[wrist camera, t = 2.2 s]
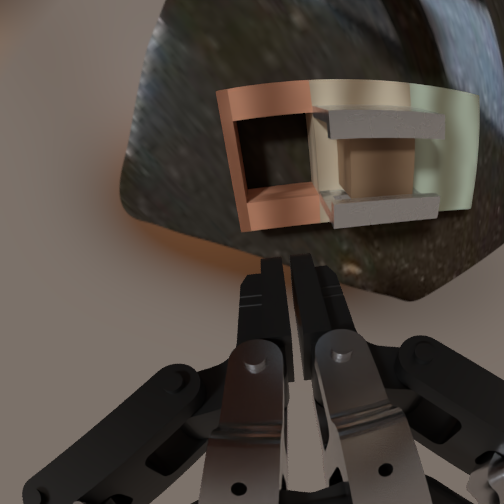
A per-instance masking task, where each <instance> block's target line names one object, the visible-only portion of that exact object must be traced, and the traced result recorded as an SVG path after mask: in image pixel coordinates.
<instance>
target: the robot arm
mask: <svg viewBox="0 0 504 504" xmlns="http://www.w3.org/2000/svg"><path fill="white" fill-rule="evenodd" d="M290 269H291V280H292V293H293V302H294V309H295V316H296V323H297V330H298V337H299V345H300V352H301V360H302V367H303V375H304V380H312V388H313V404H314V410H315V415H316V419H317V425H318V431H319V436H320V441H321V447H322V454H323V468H324V476H325V481H326V488H325V489H322V490H319V491H316V492H311V493H308V492H298V491H290V490H288V402H289V385H288V382H294V366H293V353H292V352H293V351H292V338H291V328H290V321H289V312H288V305H287V296H286V288H285V281H284V273H283V266H282V258H281V257H274V258H265V259H261V274H251V275H247V276H246V278H245V279H244V281H243V283H242V284H241V287H240V302H239V319H238V334H237V345H236V348H235V349H234V350H233V351H232V352H231V354H230V356H229V358H228V359H227V360H226V361H224V362H223V363H221V364H219V365H217V366H214V367H212V368H209V369H205V370H202V371H199V372H196V371H195V369H193V368H192V367H190V366H188V365H185V364H172V365H168V366H166V367H164V368H162V369H161V370H160V371H158V372H157V373H156V374H155V375H154V376H152V377H151V378H150V379H149V380H148V381H147V382H146V383H144V384H143V385H142V386H141V387H140V388H139V389H138V390H137V391H135V392H134V393H133V394H132V395H131V396H130V397H128V398H127V399H126V400H125V401H124V402H123V403H122V404H120V405H119V406H118V407H117V408H116V409H114V410H113V411H112V412H111V413H110V414H109V415H107V416H106V417H105V418H104V419H103V420H102V421H100V422H99V423H98V424H97V425H96V426H94V427H93V428H92V429H91V430H90V431H88V432H87V433H86V434H85V435H84V436H83V437H81V438H80V439H79V440H78V441H76V442H75V443H74V444H73V445H72V446H71V447H69V448H68V449H67V450H65V451H64V452H63V453H62V454H61V455H59V456H58V457H57V458H56V459H55V460H53V461H52V462H51V463H49V464H48V465H47V466H46V467H44V468H43V469H42V470H41V471H39V472H38V473H37V474H35V475H34V476H33V477H32V478H31V479H29V480H28V481H27V482H26V483H25V485H24V488H23V492H22V497H23V503H24V504H149V503H151V502H152V501H153V500H154V499H155V498H157V497H158V496H159V495H160V494H161V493H162V492H163V491H165V490H166V489H167V488H168V487H169V486H170V485H171V484H172V483H174V482H175V481H176V480H177V479H178V478H179V477H180V476H181V475H182V474H183V473H184V472H185V471H187V469H189V468H190V467H191V466H192V465H193V464H194V463H195V462H196V461H197V460H198V459H199V458H200V457H201V456H202V455H203V454H204V453H205V452H206V457H205V462H204V469H203V475H202V482H201V488H200V495H199V500H197V501H195V502H193V503H191V504H473V503H472V502H470V501H468V500H467V499H465V498H463V497H462V496H460V495H459V494H457V493H455V492H454V491H452V490H451V489H449V488H448V487H446V486H445V485H443V484H442V483H440V482H439V481H437V480H435V479H434V478H432V477H429V476H427V475H425V474H424V471H423V467H422V464H421V461H420V457H419V454H418V451H417V448H416V445H415V442H414V440H416V441H418V442H419V443H421V444H422V445H423V446H425V447H426V448H428V449H429V450H431V451H432V452H434V453H436V454H437V455H438V456H440V457H442V458H443V459H445V460H446V461H448V462H449V463H451V464H453V465H454V466H456V467H457V468H459V469H461V470H462V471H464V472H465V473H467V474H469V475H470V478H469V481H468V483H467V487H466V488H467V491H468V492H470V493H471V495H472V496H473V497H474V498H475V499H476V500H477V501H478V503H479V504H504V380H502V379H501V378H499V377H497V376H496V375H494V374H492V373H491V372H489V371H487V370H486V369H484V368H482V367H481V366H479V365H477V364H476V363H474V362H472V361H471V360H469V359H467V358H466V357H464V356H462V355H460V354H459V353H457V352H455V351H454V350H452V349H450V348H449V347H447V346H445V345H443V344H442V343H440V342H438V341H437V340H435V339H433V338H431V337H428V336H413V337H411V338H408V339H407V340H406V341H404V342H403V344H402V345H401V347H400V348H399V347H385V346H377V345H374V344H371V343H369V342H367V341H365V339H364V338H363V337H362V336H361V335H360V334H358V333H357V331H356V329H355V327H354V324H353V321H352V318H351V315H350V312H349V309H348V306H347V303H346V301H345V298H344V295H343V292H342V289H341V287H340V283H339V281H338V278H337V275H336V273H334V272H333V271H332V270H331V269H330V268H329V267H328V266H319V267H314V264H313V260H312V257H311V254H310V253H307V254H298V255H290Z"/></svg>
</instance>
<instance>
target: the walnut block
mask: <svg viewBox="0 0 504 504" xmlns="http://www.w3.org/2000/svg"><path fill="white" fill-rule="evenodd" d="M337 152H338V174H339V184H340V186H341V187H342V188H343V189H344V191H345V192H346V193H347V194H348V196H349V197H350V198H351V199H353V198H365V197H377V196H391V195H406V194H412V192H413V179H414V160H415V138H352V139H337Z"/></svg>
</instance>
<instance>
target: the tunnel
mask: <svg viewBox="0 0 504 504" xmlns="http://www.w3.org/2000/svg"><path fill="white" fill-rule="evenodd" d="M312 111H313V117H315V118H317V119H319V120H321V121H324V122H326V123H327V131H328V138H329V139H352V138H422V139H441V140H445V115H444V114H440V113H436V112H432V111H428V110H424V109H420V108H415V107H409V106H393V105H319V106H312ZM319 201H320V203H321V205H322V207H323V208H324V210H325V212H326V214H327V216H328V218H329V220H330V222H331V224H332V226H333V228H334V229H338V228H347V227H356V226H365V225H374V224H384V223H394V222H403V221H413V220H423V219H434V218H437V216H438V210H439V203H440V196H439V195H438V194H437V193H422V194H421V193H420V192H419V191H417V190H416V189H415V188H414V187H413V192H412V194H406V195H391V196H377V197H365V198H353V199H351V198H350V197H349V196H348V194H347V193H346V192H345V191H344V189H338V190H327V191H319Z"/></svg>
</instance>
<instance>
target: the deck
mask: <svg viewBox="0 0 504 504" xmlns="http://www.w3.org/2000/svg"><path fill="white" fill-rule="evenodd" d="M216 95H217V101H218V107H219V112H220V118H221V123H222V129H223V135H224V140H225V146H226V151H227V157H228V162H229V168H230V173H231V178H232V184H233V189H234V195H235V200H236V206H237V211H238V216H239V222H240V227H241V232H246V231H254V230H262V229H271V228H279V227H288V226H296V225H305V224H314V223H323V222H330V220H329V218H328V216H327V214H326V212H325V210H324V208H323V207H322V205H321V203H320V201H319V191H327V190H338V189H343V188H342V187H341V186H340V184H339V174H338V152H337V139H329V138H328V131H327V123H326V122H324V121H321V120H319V119H317V118H315V117H313V111H312V106H319V105H393V106H409V107H415V108H420V109H424V110H428V111H432V112H436V113H440V114H444V115H445V140H441V139H422V138H415V160H414V179H413V187H414V188H415V189H416V190H417V191H419V192H420V193H421V194H422V193H437V194H438V195H439V196H440V203H439V210H438V211H448V210H461V209H471V204H472V198H473V191H474V184H475V177H476V168H477V158H478V144H479V95H475V94H470V93H466V92H461V91H456V90H451V89H446V88H440V87H434V86H428V85H420V84H412V83H403V82H393V81H379V80H354V79H327V80H302V81H288V82H277V83H267V84H258V85H251V86H244V87H237V88H231V89H225V90H219V91H216ZM297 113H305V114H306V123H307V133H308V143H309V154H310V166H311V180H312V182H306V183H296V184H287V185H278V186H270V187H262V188H254V189H248V188H247V182H246V176H245V170H244V164H243V158H242V152H241V146H240V140H239V134H238V128H237V122H236V121H238V120H244V119H251V118H259V117H267V116H276V115H286V114H297Z"/></svg>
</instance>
